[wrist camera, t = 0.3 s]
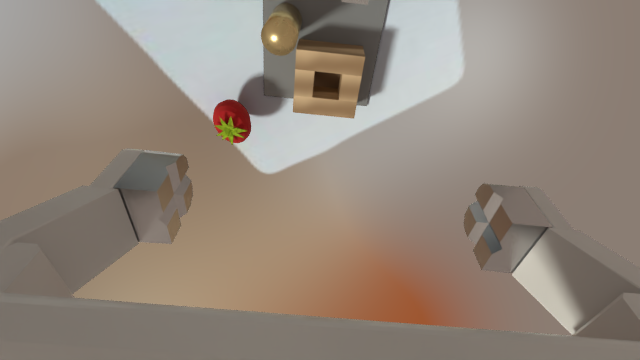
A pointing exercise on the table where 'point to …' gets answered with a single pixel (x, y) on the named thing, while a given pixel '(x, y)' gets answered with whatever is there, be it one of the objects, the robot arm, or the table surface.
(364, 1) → the square bit
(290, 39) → the round bit
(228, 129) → the strawberry
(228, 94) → the table surface
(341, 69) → the socket block
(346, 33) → the mat
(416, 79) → the table surface
